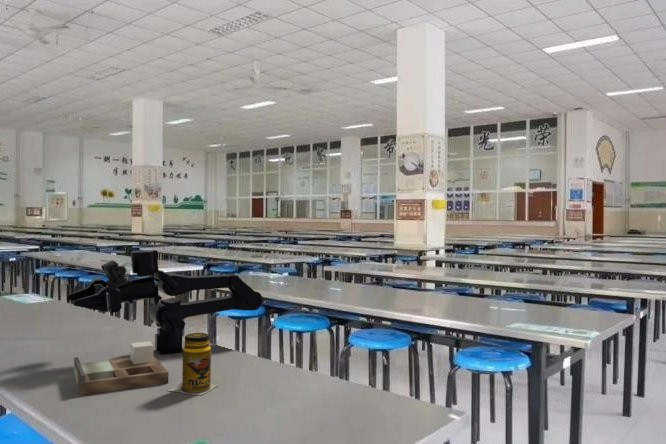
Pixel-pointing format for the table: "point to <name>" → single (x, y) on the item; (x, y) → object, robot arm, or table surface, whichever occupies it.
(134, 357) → the block
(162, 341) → the robot arm
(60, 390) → the table surface
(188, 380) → the condiment
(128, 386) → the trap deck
